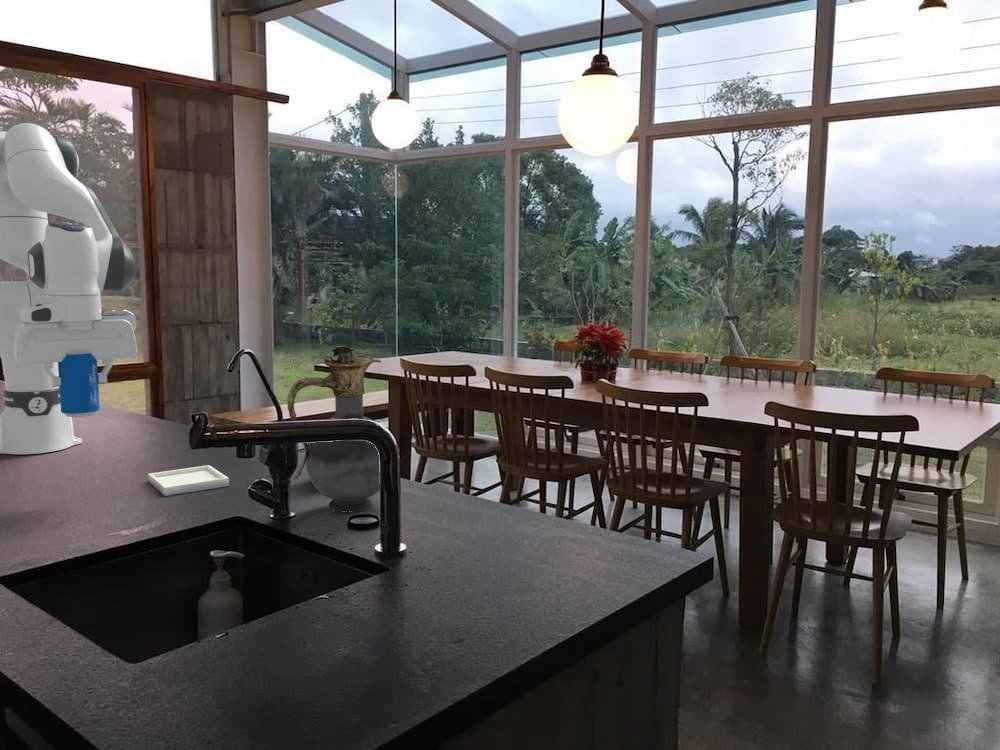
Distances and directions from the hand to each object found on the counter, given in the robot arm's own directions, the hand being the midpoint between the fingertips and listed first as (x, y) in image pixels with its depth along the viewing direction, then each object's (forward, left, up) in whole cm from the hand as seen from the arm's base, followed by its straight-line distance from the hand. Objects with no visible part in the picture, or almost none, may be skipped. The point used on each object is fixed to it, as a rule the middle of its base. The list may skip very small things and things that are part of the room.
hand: (79, 384), depth 151 cm
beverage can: (0, 0, -6) cm, 6 cm away
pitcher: (+36, +36, -21) cm, 55 cm away
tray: (+4, +18, -21) cm, 28 cm away
